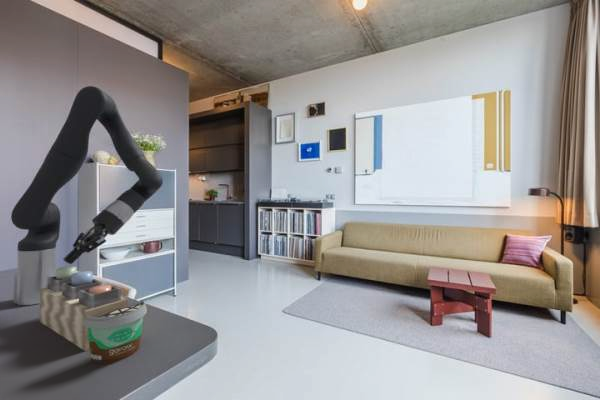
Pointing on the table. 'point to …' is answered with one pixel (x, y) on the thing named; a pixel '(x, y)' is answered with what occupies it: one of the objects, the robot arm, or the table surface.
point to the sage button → (65, 272)
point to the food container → (115, 333)
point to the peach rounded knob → (99, 289)
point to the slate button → (82, 278)
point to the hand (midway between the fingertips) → (66, 262)
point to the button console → (76, 307)
